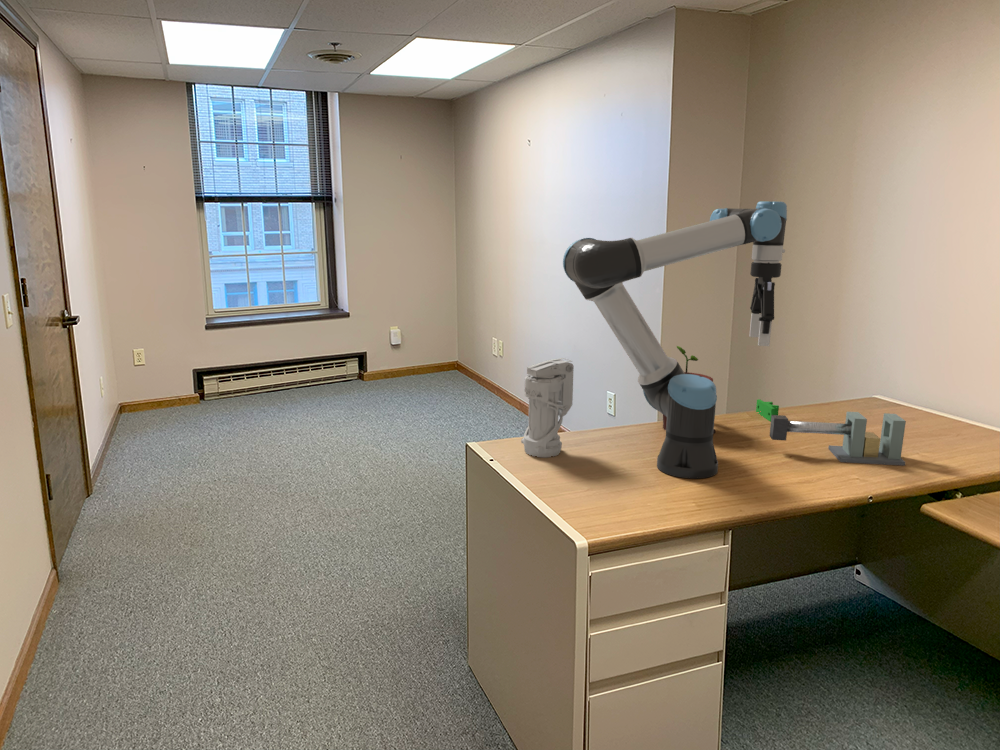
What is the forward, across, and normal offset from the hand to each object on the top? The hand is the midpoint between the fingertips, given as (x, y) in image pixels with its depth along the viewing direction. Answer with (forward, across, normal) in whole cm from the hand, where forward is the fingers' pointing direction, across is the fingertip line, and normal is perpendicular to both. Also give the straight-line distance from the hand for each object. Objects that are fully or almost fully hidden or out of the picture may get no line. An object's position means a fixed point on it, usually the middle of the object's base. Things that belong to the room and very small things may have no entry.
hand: (758, 341), depth 195 cm
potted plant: (+31, +18, +15) cm, 39 cm away
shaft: (+26, -2, -16) cm, 31 cm away
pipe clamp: (+30, +34, -12) cm, 47 cm away
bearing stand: (+30, -2, -30) cm, 43 cm away
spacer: (+29, -2, -30) cm, 42 cm away
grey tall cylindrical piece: (+31, -13, +55) cm, 65 cm away
